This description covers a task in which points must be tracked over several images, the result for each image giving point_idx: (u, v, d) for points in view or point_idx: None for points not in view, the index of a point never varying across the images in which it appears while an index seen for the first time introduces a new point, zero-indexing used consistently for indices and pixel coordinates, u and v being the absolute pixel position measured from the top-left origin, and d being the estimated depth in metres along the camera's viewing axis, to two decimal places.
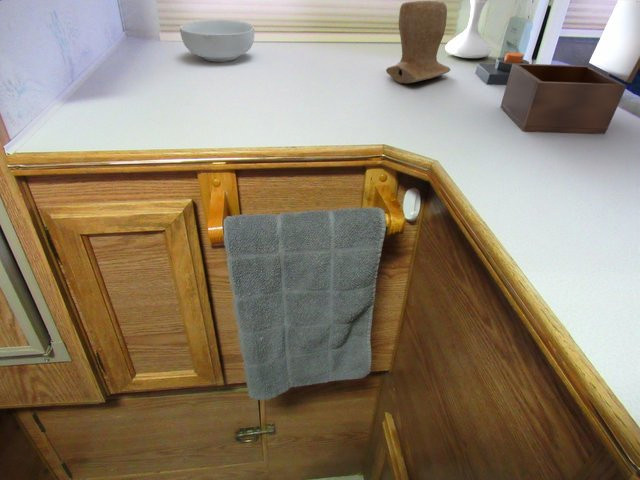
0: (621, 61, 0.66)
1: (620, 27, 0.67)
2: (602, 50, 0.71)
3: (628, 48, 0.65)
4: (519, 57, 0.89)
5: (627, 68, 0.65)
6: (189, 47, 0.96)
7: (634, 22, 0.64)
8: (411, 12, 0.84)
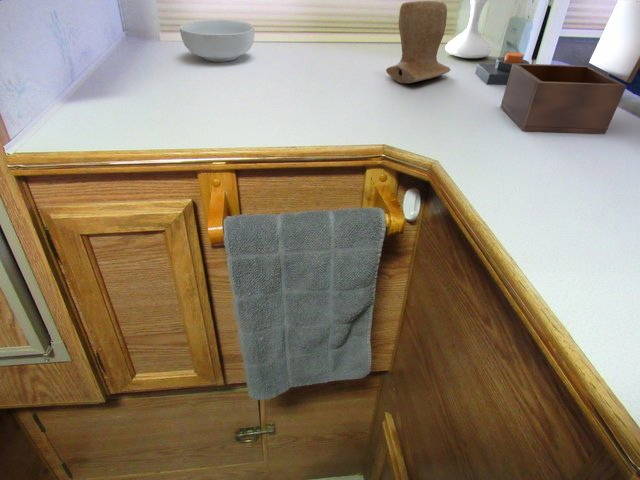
0: (621, 61, 0.66)
1: (620, 27, 0.67)
2: (602, 50, 0.71)
3: (628, 48, 0.65)
4: (519, 57, 0.89)
5: (627, 68, 0.65)
6: (189, 47, 0.96)
7: (634, 22, 0.64)
8: (411, 12, 0.84)
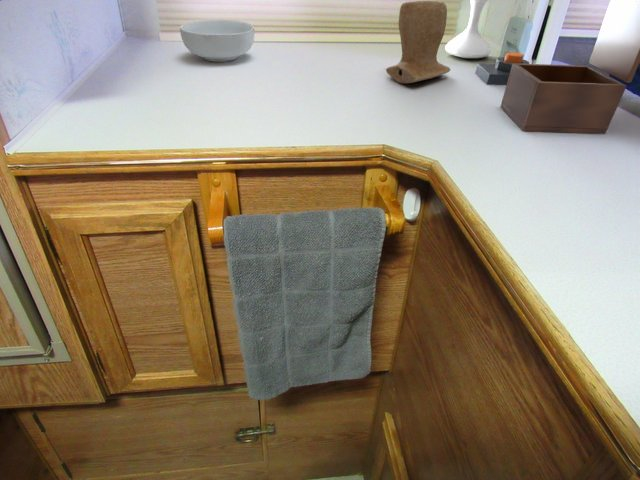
0: (619, 61, 0.66)
1: (615, 27, 0.67)
2: (600, 50, 0.71)
3: (625, 49, 0.65)
4: (519, 57, 0.89)
5: (625, 68, 0.65)
6: (189, 47, 0.96)
7: (627, 22, 0.64)
8: (411, 12, 0.84)
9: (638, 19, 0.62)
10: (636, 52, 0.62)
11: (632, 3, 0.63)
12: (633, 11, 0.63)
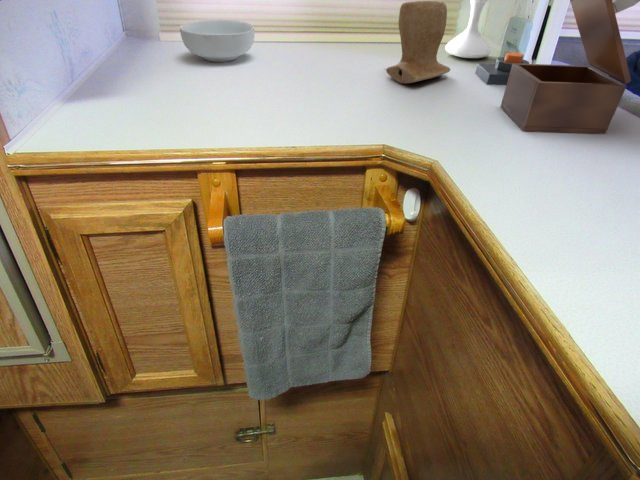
0: (610, 65, 0.66)
1: (590, 36, 0.68)
2: (591, 54, 0.71)
3: (608, 55, 0.65)
4: (519, 57, 0.89)
5: (618, 72, 0.65)
6: (189, 47, 0.96)
7: (597, 33, 0.65)
8: (411, 12, 0.84)
9: (603, 31, 0.63)
10: (618, 59, 0.63)
11: (591, 17, 0.64)
12: (596, 24, 0.64)
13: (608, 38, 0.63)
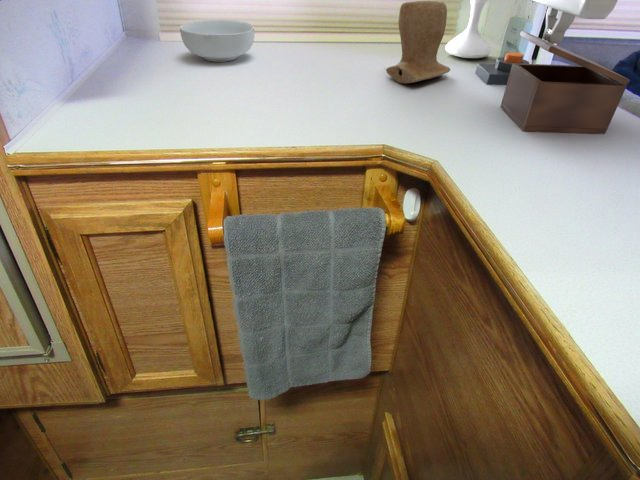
0: None
1: None
2: None
3: None
4: (519, 57, 0.89)
5: None
6: (189, 47, 0.96)
7: None
8: (411, 12, 0.84)
9: None
10: (603, 74, 0.64)
11: None
12: None
13: None
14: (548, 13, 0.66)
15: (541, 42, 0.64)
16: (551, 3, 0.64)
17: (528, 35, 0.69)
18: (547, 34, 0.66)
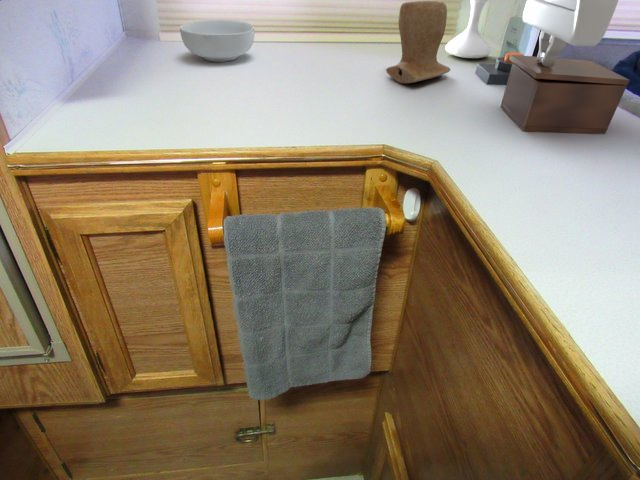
0: None
1: None
2: None
3: None
4: None
5: None
6: (189, 47, 0.96)
7: None
8: (411, 12, 0.84)
9: None
10: (599, 82, 0.65)
11: None
12: None
13: None
14: (541, 37, 0.68)
15: (528, 68, 0.67)
16: (544, 28, 0.66)
17: (516, 60, 0.71)
18: (540, 57, 0.68)
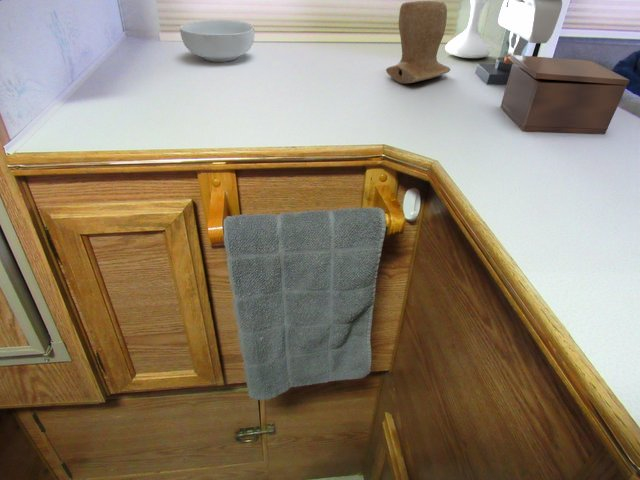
0: None
1: None
2: None
3: None
4: None
5: None
6: (189, 47, 0.96)
7: None
8: (411, 12, 0.84)
9: None
10: (599, 82, 0.65)
11: None
12: None
13: None
14: (511, 36, 0.90)
15: (528, 68, 0.67)
16: (512, 29, 0.88)
17: (516, 60, 0.71)
18: (510, 51, 0.91)
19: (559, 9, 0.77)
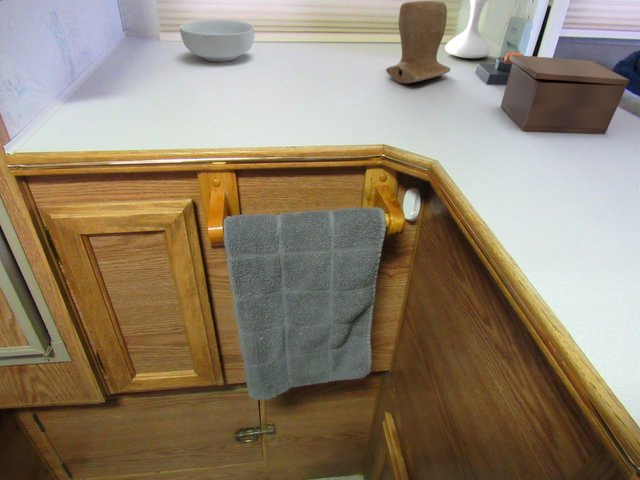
0: None
1: None
2: None
3: None
4: None
5: None
6: (189, 47, 0.96)
7: None
8: (411, 12, 0.84)
9: None
10: (599, 82, 0.65)
11: None
12: None
13: None
14: None
15: (528, 68, 0.67)
16: None
17: (516, 60, 0.71)
18: None
19: None
